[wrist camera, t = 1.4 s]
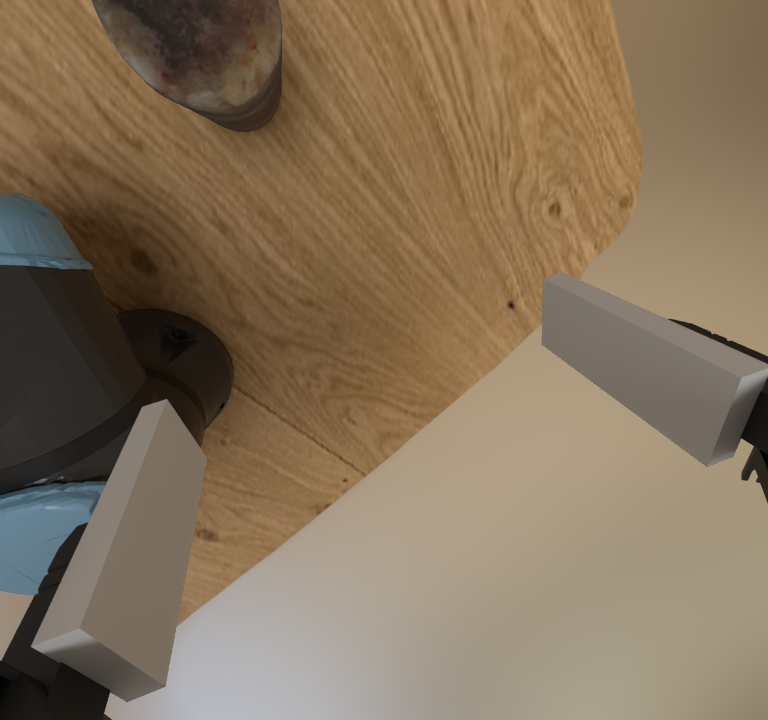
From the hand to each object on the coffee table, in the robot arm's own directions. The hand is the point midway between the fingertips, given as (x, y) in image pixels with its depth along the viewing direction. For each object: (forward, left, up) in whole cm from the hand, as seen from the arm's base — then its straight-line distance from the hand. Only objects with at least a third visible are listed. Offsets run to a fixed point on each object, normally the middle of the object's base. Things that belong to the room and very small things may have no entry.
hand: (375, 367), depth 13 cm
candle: (-3, +12, -31) cm, 33 cm away
